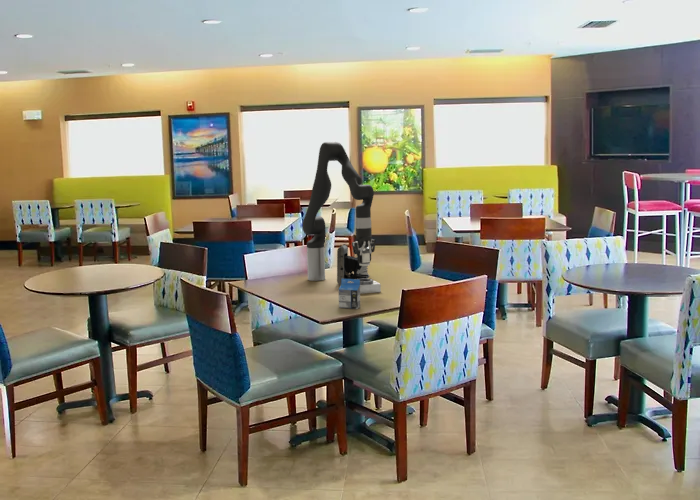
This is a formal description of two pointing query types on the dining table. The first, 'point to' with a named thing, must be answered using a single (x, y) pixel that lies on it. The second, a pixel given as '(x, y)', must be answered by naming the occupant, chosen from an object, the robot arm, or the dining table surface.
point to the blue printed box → (349, 294)
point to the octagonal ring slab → (369, 286)
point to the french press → (363, 269)
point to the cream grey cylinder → (365, 258)
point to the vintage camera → (347, 265)
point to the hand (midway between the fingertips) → (364, 261)
